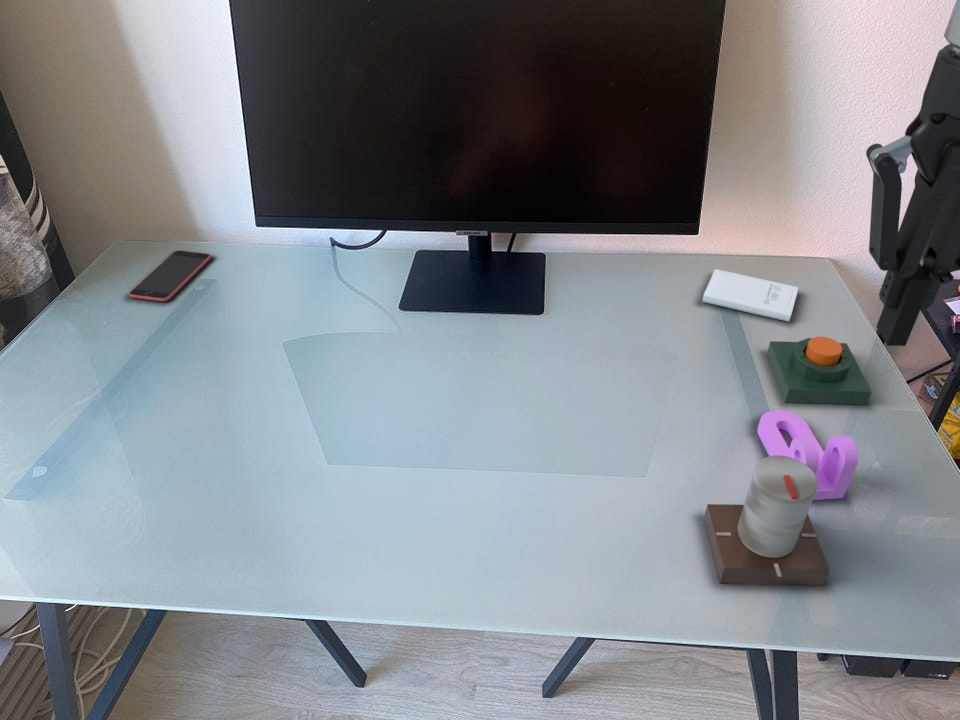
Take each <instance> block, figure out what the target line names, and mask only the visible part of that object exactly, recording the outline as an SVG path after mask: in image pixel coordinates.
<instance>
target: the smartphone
mask: <svg viewBox="0 0 960 720" xmlns="http://www.w3.org/2000/svg"><path fill="white" fill-rule="evenodd" d="M211 259H212V255H211V254H210V253H206V252H197V251H189V250H180V249H179V250H175V251H173V252H172V253H171V254H170V255H168V256H167V257H166V258H165V259H164V260H163V261H162V262H161V263H160V264H159V265H157V267H155V268H154V269H153V270H152V271H151V272H149V273H148V274H147V276H145V277H144V278H143V279H142V280H141V281H140V282H139V283H138V284H136V285H135V286H134V287H133V288H132V289H131V290H130V291H129V292H128V295H129V297H130V298H132V299H137V300H147V301H153V302H154V301H155V302H168V301H170V300H171V299H172V298H173V297H174V296H175V295H176V294H177V293H178V292H179V291H180V290H181V289H182V288H183V287H184V286H185V285H186V284H187V283H188V282H189V281H190V280H191V279H192V278H193V277H194V276H195V275H196V274H197V273H198V272H199V271H200V270H201V269H202V268H203V267H204V266H205V265H206V264H207V263H208V262H209V261H210V260H211Z"/></svg>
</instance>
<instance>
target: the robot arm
mask: <svg viewBox="0 0 960 720" xmlns="http://www.w3.org/2000/svg"><path fill="white" fill-rule="evenodd" d="M943 37H944V38H945V40H946V42H947V43H948V44H946V45H944V46H943V48H940V49H939V50H938V52H937V54H936V58H935V60H934V63H933V67H932V69H931V72H930V75H929V78H928V80H927V83H926V87H925V89H924V92H923V96H922V102H921V107H920V110H919V112H918V113H917V115H916V116H915V118H914V119H913V120H912V121H911V122H910V123H909V124H908V126H907V127H906V129H905V132H904V136H902V137H900V138H898V139H896V140H894V141H892V142H890V143H888V144H886V145H882V144H880V143H873V144H871V145H869V146H868V148H867V149H866V151H865V155H866V158H867V161H868V163H869V166H870V168H871V170H872V173H873V174H872V189H871V190H872V192H871V207H870V208H871V209H870V224H869V225H870V226H869V241H868V251H869V254H870V256H871V258H872V259H873V261H874V262H875V264H876V265H877V267H878V268H879V269H880V270H881V271H884V272H886V274H885V276H884V278H883V282H882V284H881V288H880V290H879V292H878V296H879V297H878V298H879V300H880V301H881V303H882V305H883V308H882V311H881V313H880V315H879V318H878V321H877V325H876V329H877V330H878V333H879V334H880V336H881V337H882V339H883V341H884V343H885V344H886V346H889V347H890V346H893V347H906V345H907V343H908V340H909V338H910V336H911V333H912V331H913V329H914V326H915V324H916V321H917V319H918V317H919V314H920V312H921V309H923V310H925V309H926V310H928V309H929V308H931V306H932V305H933V304H934V302H935V299H936V297H937V294H938V292H939V291H940V287H941V285H946V284H949V283H951V282H952V281H953V280H954V278H955V277H954V276H953V274H952V273H954V272H958V271H960V0H955V3H954V5H953V8H952V11H951V14H950V17H949V21H948V23H947V25H946V28H945V31H944V34H943ZM910 155H911V156H912V159H913V161H914V163H915V166H916V168H917V170H916V173H915V176H914V188H913V191H912V194H911V196H910V198H909V202H908V204H907V207H906V210H905V213H904V215H903V218H902V220H901V223H900V217H901V215H900V214H901V203H902V192H903V183H902V177H901V174H903V173H905V172H906V170H907V165H908V158H909V156H910ZM921 260H922V261H921ZM921 262H922V263H921Z"/></svg>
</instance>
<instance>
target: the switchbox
mask: <svg viewBox="0 0 960 720" xmlns="http://www.w3.org/2000/svg"><path fill="white" fill-rule="evenodd" d="M812 338H813V337H807V338H804V339H802V340H798V341H776V340H775V341H770V342H769V345H768V348H767V351H766V355H767V358H768V361H769V363H770V366H771V368H772V372H773V374H774V377H775V380H776V382H777V385H778V388H779V391H780V393H781V395H782V398H783V401H784V403H786V404H787V403H789V404H791V403H792V404H819V405H820V404H821V405H822V404H823V405H824V404H826V405H853V406H854V405H856V406H867V405H868V403H869V401H870V398H871V396H872V393H873V392H872V389H871V387H870V385H869V383H868V382H867V380H866V377H865V376H864V374H863V372H862V370H861V368H860V366H859V364H858V362H857V361H856V359H855V356H854V355H853V353H852V351H851V349H850V347H849V345H848V343H846V342H838V343H839V344H840V345H841V346H842V353H841V355H840V358H839V361H838V363H837V364H835V365H833V366H823V365H820V364H817V363H814V362H812V361H811V360H809V359H808V358H807V357H806V354H805V352H806V349H807V346H808V343H809V341H810V339H812Z"/></svg>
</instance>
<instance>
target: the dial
mask: <svg viewBox="0 0 960 720" xmlns="http://www.w3.org/2000/svg"><path fill="white" fill-rule="evenodd" d="M817 486H818V482H817V478H816V476H815V474H814V473H813V471H812V470H811V469H810V468H809V467H808V466H806V465H805V464H804V463H802V462H800V461H798V460H796V459H794V458H791V457H787V456H780V455H774V456H769V455H768V456H766V457H763V458H761V459H760V460H759V461H757V463H756V464H755V466H754V469H753V473H752V476H751V479H750V483H749V486H748V489H747V493H746V496H745V499H744V502H743V505H744V506H743V509H742V513H741V516H740V519H739V523H738V526H737V532H738V536H739V538H740V540H741V541H742V543H743V544H744V545H745V546H746V547H747V548H748V549H749V550H751V551H752V552H754V553H756V554H758V555H761V556H764V557H769V558H779V557H783V556H786V555H788V554H789V553H791V552H792V551H793V549H794V547H795V545H796V542H797V540H798V537H799V535H800V532H801V529H802V527H803V524H804V521H805V519H806V516H807V514H808V515H809V511H810V509H811V505H812V504H813V501H814V500H813V498H814V495H815V493H816V490H817Z"/></svg>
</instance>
